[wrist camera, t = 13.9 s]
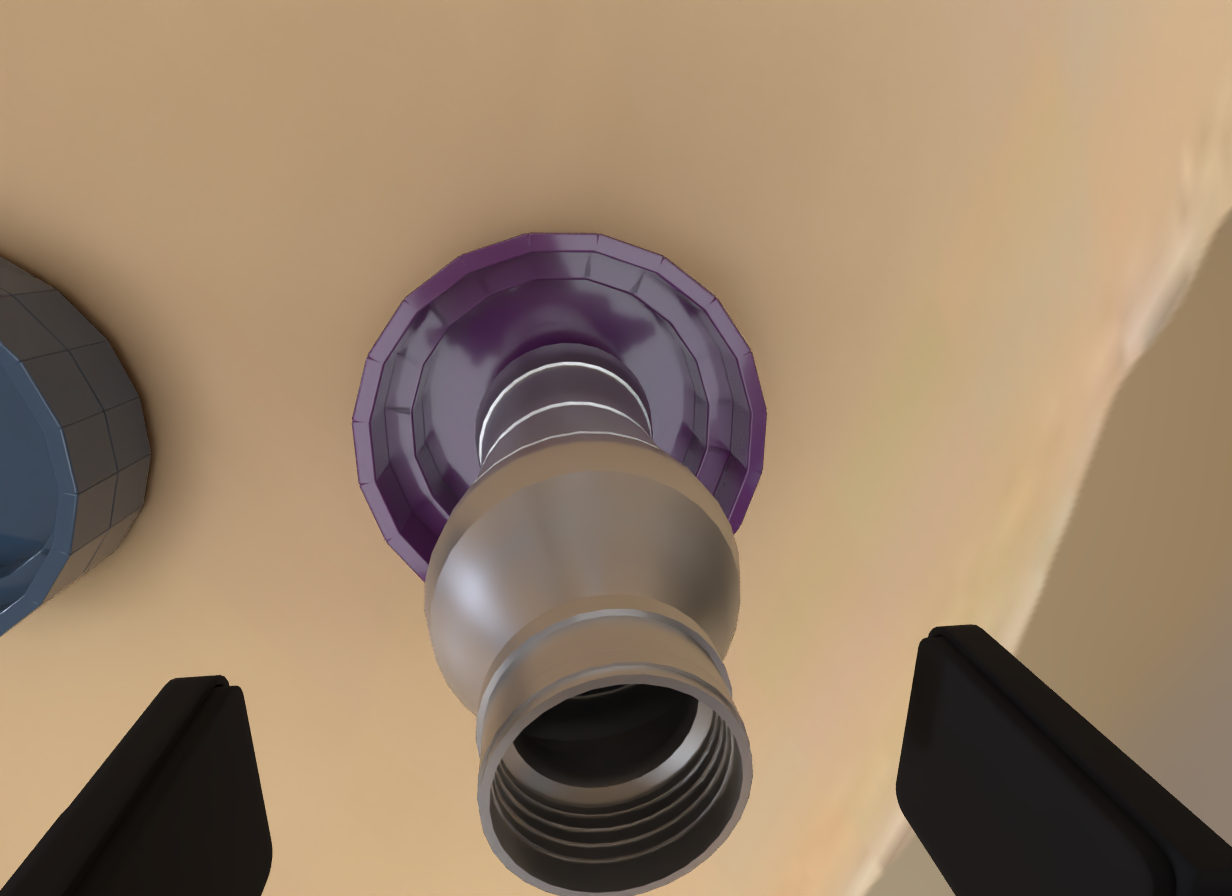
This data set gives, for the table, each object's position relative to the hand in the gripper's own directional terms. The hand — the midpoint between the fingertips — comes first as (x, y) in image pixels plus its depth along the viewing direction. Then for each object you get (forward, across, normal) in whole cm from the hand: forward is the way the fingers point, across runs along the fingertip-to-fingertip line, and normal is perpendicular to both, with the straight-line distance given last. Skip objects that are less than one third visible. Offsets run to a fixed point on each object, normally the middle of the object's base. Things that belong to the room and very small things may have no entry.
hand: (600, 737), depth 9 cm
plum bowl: (+20, 0, +1) cm, 20 cm away
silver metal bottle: (+20, 0, 0) cm, 20 cm away
